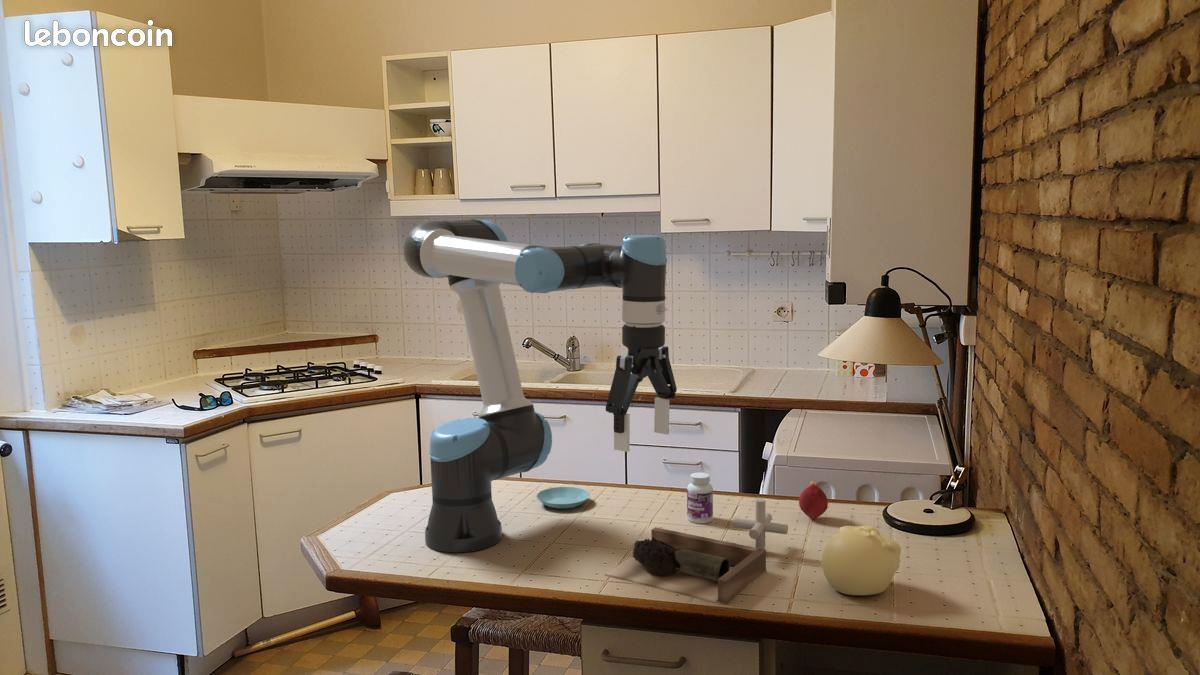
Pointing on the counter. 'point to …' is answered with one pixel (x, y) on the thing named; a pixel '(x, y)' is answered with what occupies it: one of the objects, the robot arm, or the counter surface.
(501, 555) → the counter surface
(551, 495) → the saucer
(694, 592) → the mat
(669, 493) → the counter surface
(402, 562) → the counter surface
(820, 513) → the onion
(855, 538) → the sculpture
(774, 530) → the pipe connector
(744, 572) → the corner wall
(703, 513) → the pill bottle
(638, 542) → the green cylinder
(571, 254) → the robot arm
